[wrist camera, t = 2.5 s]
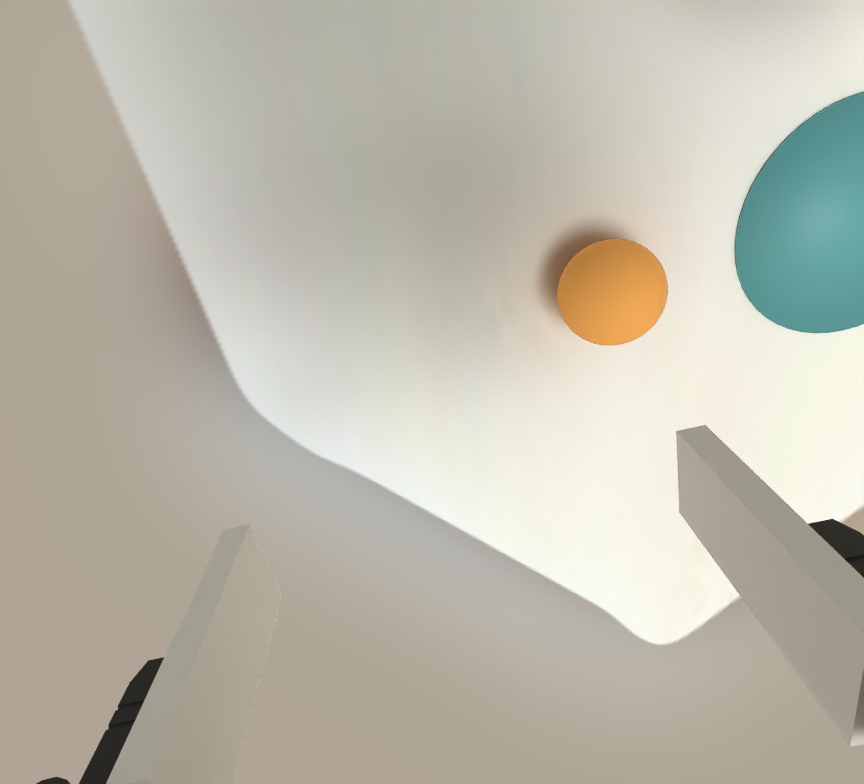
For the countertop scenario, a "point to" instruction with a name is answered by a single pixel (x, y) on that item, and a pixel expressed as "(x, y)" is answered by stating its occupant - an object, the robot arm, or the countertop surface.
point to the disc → (809, 225)
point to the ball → (612, 292)
